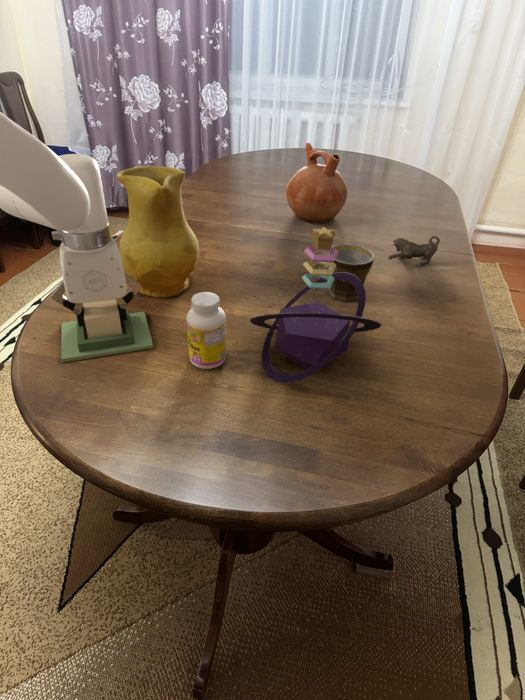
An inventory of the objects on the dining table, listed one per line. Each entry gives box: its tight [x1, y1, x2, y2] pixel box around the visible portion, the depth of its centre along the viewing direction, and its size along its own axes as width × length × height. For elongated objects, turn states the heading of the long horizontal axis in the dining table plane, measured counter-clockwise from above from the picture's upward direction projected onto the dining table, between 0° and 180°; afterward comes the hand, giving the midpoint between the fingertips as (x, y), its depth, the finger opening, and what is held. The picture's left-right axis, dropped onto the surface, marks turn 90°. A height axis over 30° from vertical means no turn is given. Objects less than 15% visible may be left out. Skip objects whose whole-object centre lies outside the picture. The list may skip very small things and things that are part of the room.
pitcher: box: [116, 165, 200, 298], centre depth 100 cm, size 17×19×25 cm
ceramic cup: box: [315, 243, 375, 302], centre depth 103 cm, size 13×10×10 cm
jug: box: [286, 142, 348, 224], centre depth 138 cm, size 18×18×20 cm
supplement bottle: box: [186, 291, 227, 370], centre depth 81 cm, size 7×7×13 cm
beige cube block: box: [83, 299, 122, 339], centre depth 87 cm, size 6×6×4 cm
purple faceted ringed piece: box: [249, 226, 382, 384], centre depth 79 cm, size 22×21×25 cm
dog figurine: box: [387, 235, 441, 268], centre depth 119 cm, size 12×6×7 cm, turn 82°
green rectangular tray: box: [60, 308, 154, 363], centre depth 89 cm, size 16×12×3 cm
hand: (104, 325), depth 88 cm, fingers closed on beige cube block, 5 cm apart
